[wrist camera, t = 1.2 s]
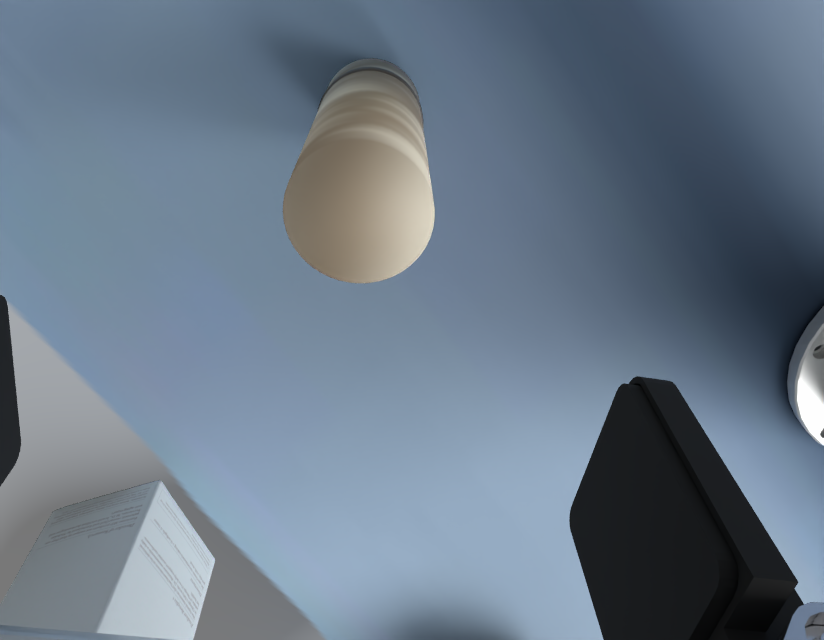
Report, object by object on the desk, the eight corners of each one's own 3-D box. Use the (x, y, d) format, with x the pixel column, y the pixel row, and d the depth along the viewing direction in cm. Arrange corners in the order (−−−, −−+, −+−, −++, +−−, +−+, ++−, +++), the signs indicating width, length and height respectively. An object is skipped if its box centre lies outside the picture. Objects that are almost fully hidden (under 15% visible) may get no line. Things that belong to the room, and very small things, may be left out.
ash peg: (428, 61, 30) (451, 153, 18) (410, 154, 32) (420, 295, 20) (332, 42, 30) (289, 124, 18) (320, 138, 32) (274, 272, 20)
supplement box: (50, 507, 42) (-73, 715, 31) (163, 475, 41) (78, 678, 30) (113, 589, 46) (23, 802, 34) (219, 561, 45) (162, 772, 33)
